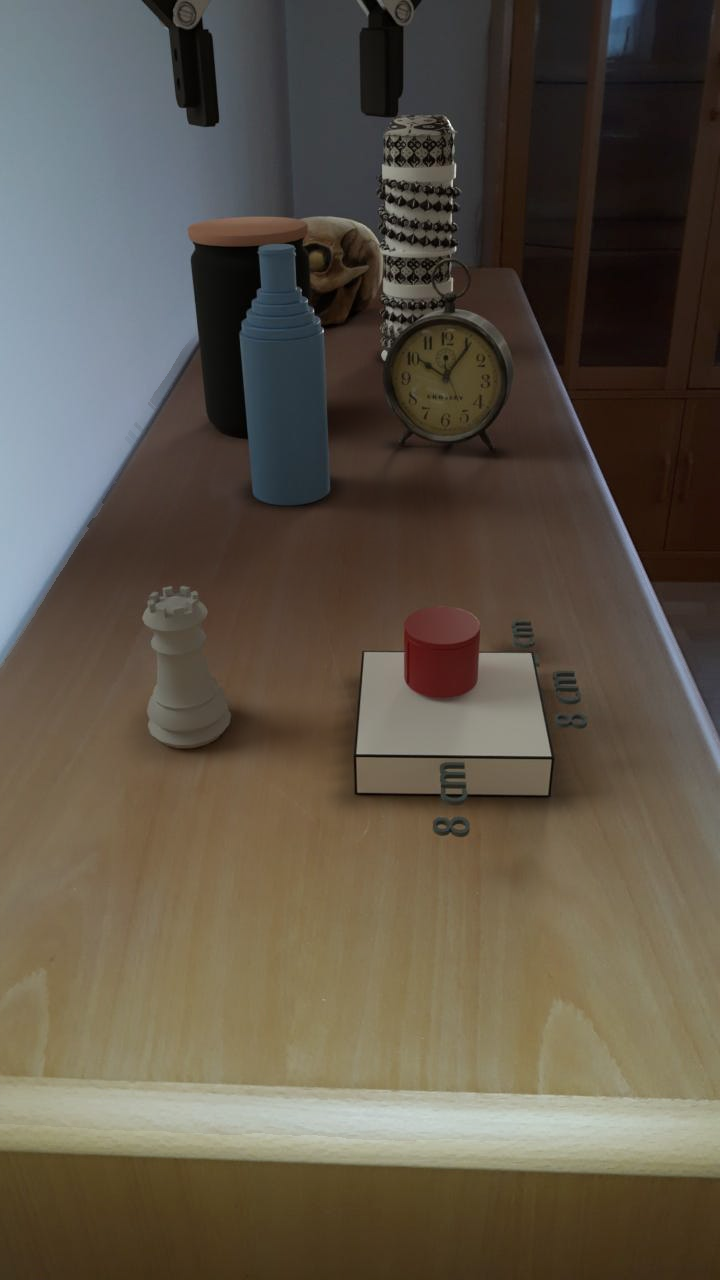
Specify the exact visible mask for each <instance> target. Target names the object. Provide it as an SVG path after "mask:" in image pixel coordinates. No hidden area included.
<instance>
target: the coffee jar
mask: <svg viewBox="0 0 720 1280" xmlns="http://www.w3.org/2000/svg"><path fill="white" fill-rule="evenodd" d="M307 232H308V225H307V223H305V222H304V221H302V220H300V219H298V218H293V217H283V216H237V217H225V218H215V219H210V220H205V221H200V222H196V223H193V224H191V225H190V226H188V227H187V234H188V238H189V240H190V242H192V244H193V245H194V250H193V252H192V253H191V255H190V268H191V269H190V270H191V279H192V289H193V298H194V306H195V308H194V309H195V316H196V326H197V327H196V328H197V336H198V345H199V354H200V355H199V356H200V363H201V374H202V383H203V392H204V393H203V394H204V402H205V412H206V415H207V418H208V420H209V422H210V423H211V424H212V425H213V426H214V428H215V430H217V431H218V432H219V433H222V434H224V435H227V436H230V437H236V438H243V439H244V438H245V439H248V429H247V417H246V405H245V394H244V382H243V370H242V358H241V346H240V331H241V330H242V321H243V320H244V319H246V318H247V311H248V310H249V309H250V308H252V300H253V299H255V298H257V290H258V289H260V288H261V275H260V261H259V254H258V251H259V247H260V246H263V245H269V244H290V245H293V246H294V248H296V250H295V253H296V256H295V270H296V286H297V287H300V288H301V290H302V296H304V297H306V298H307V299H308V306H311V307H312V305H311V283H310V260H309V253H308V251H307V250H306V249H305V247H304V246H303V240H304V238H305V236H306V235H307Z"/></svg>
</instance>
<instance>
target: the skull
mask: <svg viewBox="0 0 720 1280" xmlns="http://www.w3.org/2000/svg"><path fill="white" fill-rule="evenodd" d="M299 220H302V221H304V222H305V223H307V225H308V232H307V235H306V236H305V238H304V240H303V246H304V247H305V249H306V250H307V251H308V253H309V260H310V283H311V305H312V307H313V309H314V315H315V316H318V317H319V318H320V323H321V327H325V326H327V325H330V324H331V325H340V324H343V323H345V321H346V319H347V317H348V316H349V314H350V313H357V312H362V311H364V310H365V309H366V308H368V306H369V305H370V304H371V302H372V301H373V300H374V299H375V298H376V296H377V293H378V291H379V289H380V286H381V284H382V281H383V276H384V275H383V274H384V257H383V256H384V254H382V253H381V251H380V248H379V245H380V244H381V243H380V242H379V240H378V238H377V237H376V235H375V233H374V232H373V231H372V230H371V229H370V228H369V227H367V226H366V225H364V224H363V223H360V222H358V221H356V220H353V219H349V218H345V217H338V216H337V217H336V216H331V215H329V216H328V215H327V216H310V217H304V218H300V219H299Z"/></svg>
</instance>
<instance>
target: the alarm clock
mask: <svg viewBox="0 0 720 1280" xmlns="http://www.w3.org/2000/svg"><path fill="white" fill-rule="evenodd" d="M447 262H452V263H455V264H457V265H459V266H461V267H462V269H463V270H464V271H465V273H466V276H467V278H466V279H467V281H466V286H465V287H464V288H463V290H462V291H461V292H460V293H458V294H455V293H454V291H452V292H448V293H446V294H442V293H441V292H440V291H439V290H438V289H437V287H436V285H435V282H434V277H435V273H436V271H437V269H438V268H439V267H440V266H441V265H442V264H444V263H447ZM431 282H432V286H433V288H434V289H435V291H436V292H437V293H438V294H439V295H440V296H441V297H443V298H444V299H445V301H446V303H445V309H444V310H439V311H435V312H432V313H430V314H427V315H425V316H423V317H422V318H420V319H419V320H417V321H416V322H414V323H413V324H411V325H409V326H408V327H407V328H406V329H404V330H403V331H402V332H401V333H400V334H399V335H398V337H397V338H396V339H395V340H394V342H393V344H392V345H391V347H390V349H389V351H388V354H387V356H386V360H385V361H384V364H383V370H382V371H383V372H382V384H383V385H382V386H383V392H384V395H385V398H386V402H387V404H388V406H389V408H390V410H391V413H392V414H393V415H394V417H395V418H396V420H398V422H399V423H400V424H401V425H402V426H403V427H404V428H405V430H404V432H403V433H402V436H401V438H400V439H398V441H397V446H398V447H403V446H405V444H406V441H408V439H409V438H410V437H411V436H413V435H415V436H416V437H418V438H420V439H422V440H425V441H427V442H431V443H434V444H435V443H436V444H446V445H449V444H459V443H462V442H466V441H469V440H471V439H474V438H475V437H477V436H479V438H480V439H481V441H482V442H483V443H484V444H485V446H487V447H488V448H489V449H488V450H489V452H490V453H491V454H495V453H497V450H498V449H497V446H496V445H494V443H493V441H492V439H491V437H490V435H489V434H488V432H487V429H488V428H490V426H491V425H492V424H493V423H494V421H495V420H496V419H497V418H498V416H499V415H500V413H501V411H502V410H503V409H504V406H506V403H507V401H508V399H509V397H510V394H511V391H512V387H513V383H514V361H513V357H512V355H511V354H512V353H511V351H510V348H509V345H508V343H507V341H506V339H505V338H504V336H503V335H502V334H501V333H500V331H499V330H498V329H497V328H496V326H495V325H493V323H491V322H490V321H489V320H487V319H486V318H485V317H483V316H481V315H479V314H477V313H474V312H472V311H468V310H464V309H458V308H456V306H455V301H456V299H458V298H461V297H463V296H464V295H466V293H467V292H468V290H469V288H470V286H471V282H472V275H471V270H470V269H469V267H468V265H466V264H465V262H463V261H462V260H461V259H458V258H456V257H451V258H446V259H443V260H441V261H440V262H438V263H437V264H436V266H435V267H434V268H433V270H432V273H431Z"/></svg>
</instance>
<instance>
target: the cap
mask: <svg viewBox="0 0 720 1280" xmlns="http://www.w3.org/2000/svg"><path fill="white" fill-rule="evenodd" d="M403 628H404V629H403V632H404V633H403V651H404V680H405V682H406V684H407V685H408V686H409V687H410V688H411V689H412V690H413V691H415V692H417V693H419V694H421V695H424V696H429V697H434V698H451V697H456V696H460V695H463V694H465V693H467V692H469V691H470V690H471V689H473V688H474V686H475V685H476V683H477V681H478V665H479V652H480V644H481V643H480V642H481V623H480V621H479V619H478V618H477V617H476V616H475V615H474V614H473V613H471V612H469V611H467V610H464V609H461V608H459V607H458V608H457V607H452V606H429V607H425V608H421V609H417V610H416V611H414V612H412V613H410V615H408V616H407V617H406V619H405V620H404V623H403Z"/></svg>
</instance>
